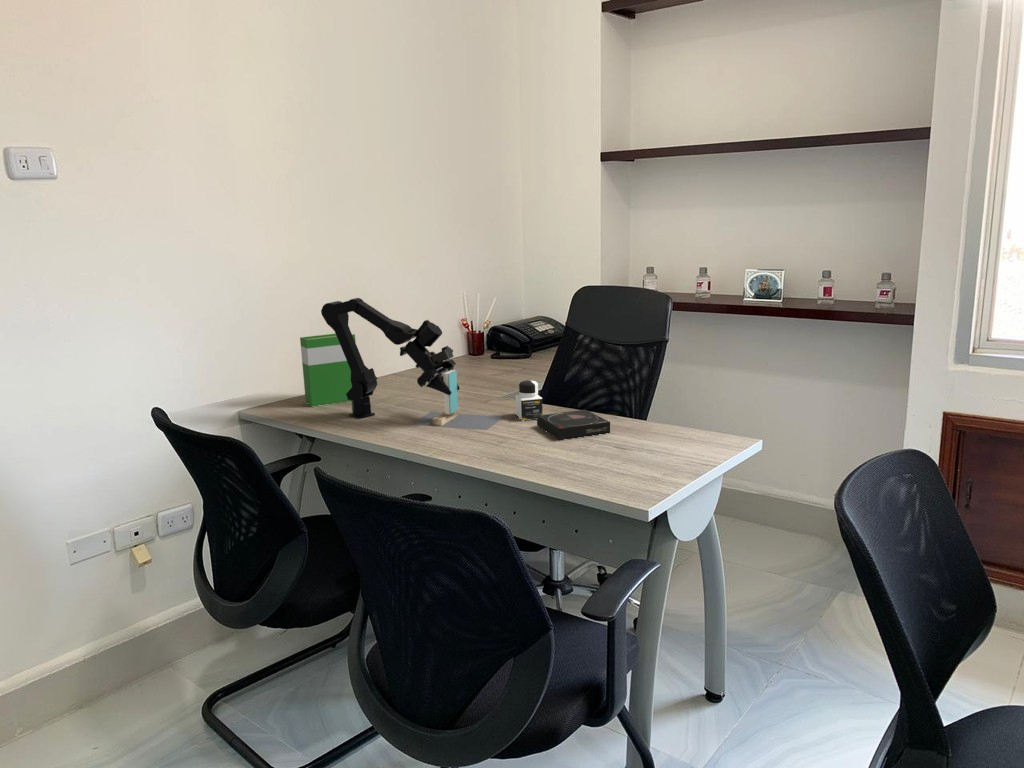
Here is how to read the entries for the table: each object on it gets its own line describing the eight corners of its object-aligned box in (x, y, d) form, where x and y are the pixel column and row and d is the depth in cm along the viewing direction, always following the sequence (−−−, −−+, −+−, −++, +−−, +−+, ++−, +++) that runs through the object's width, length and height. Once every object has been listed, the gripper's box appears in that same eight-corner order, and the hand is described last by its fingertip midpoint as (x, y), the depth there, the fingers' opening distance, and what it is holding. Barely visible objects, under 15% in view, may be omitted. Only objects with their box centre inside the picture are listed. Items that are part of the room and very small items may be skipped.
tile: (444, 413, 244) (443, 373, 241) (452, 409, 249) (450, 369, 246) (450, 414, 243) (449, 374, 240) (458, 409, 248) (456, 370, 246)
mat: (410, 425, 243) (410, 424, 243) (431, 413, 258) (431, 411, 258) (486, 431, 234) (486, 429, 234) (504, 417, 249) (504, 416, 249)
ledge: (433, 425, 241) (432, 419, 241) (450, 413, 254) (450, 408, 254) (441, 425, 240) (441, 419, 240) (459, 414, 253) (458, 408, 253)
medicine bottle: (521, 421, 245) (520, 384, 242) (515, 415, 251) (514, 380, 249) (543, 419, 247) (542, 382, 244) (536, 413, 253) (535, 378, 251)
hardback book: (352, 396, 286) (347, 332, 280) (359, 399, 279) (355, 334, 274) (305, 403, 277) (299, 337, 271) (312, 407, 270) (306, 340, 265)
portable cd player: (584, 421, 245) (584, 409, 244) (610, 434, 229) (610, 422, 228) (537, 427, 239) (536, 415, 238) (560, 442, 223) (559, 428, 222)
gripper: (424, 344, 233) (459, 381, 232) (449, 334, 251) (481, 369, 250) (402, 368, 238) (436, 405, 237) (428, 357, 255) (460, 391, 254)
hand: (454, 391), depth 244 cm, fingers closed on tile, 6 cm apart
